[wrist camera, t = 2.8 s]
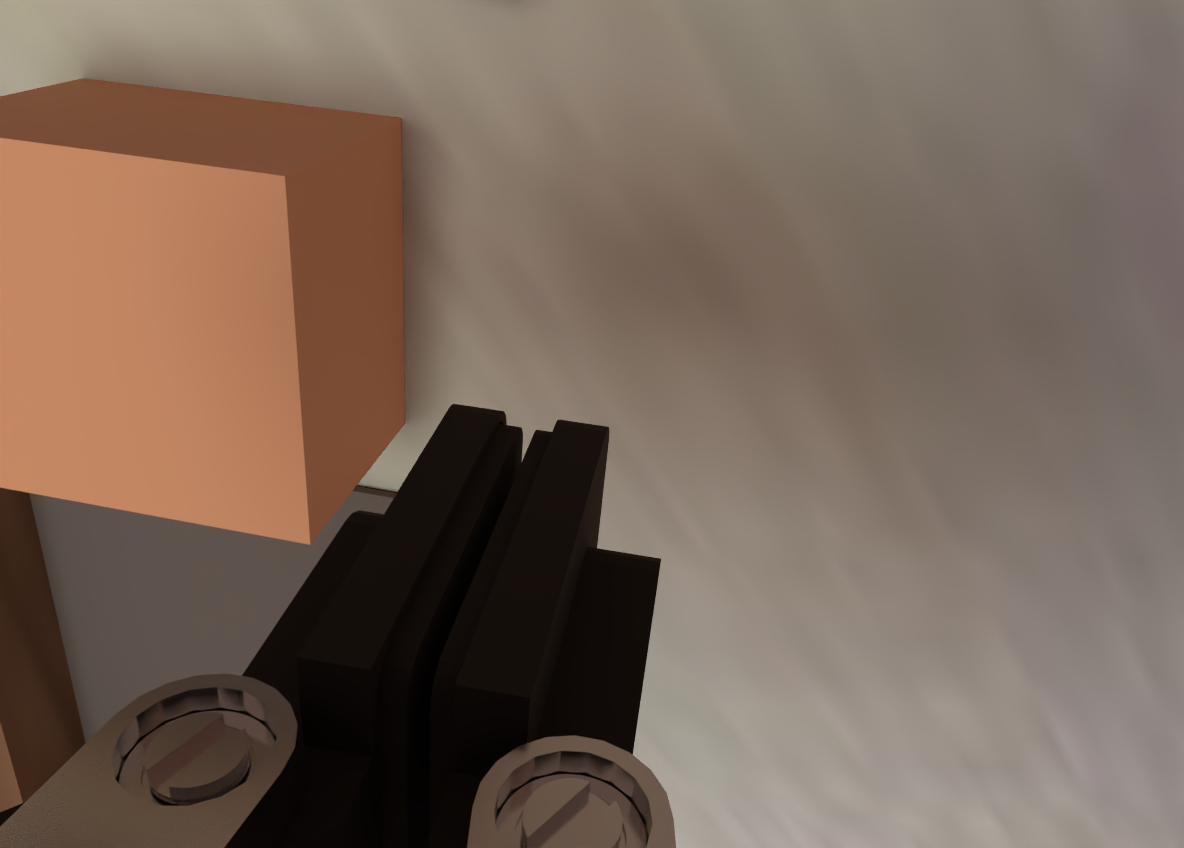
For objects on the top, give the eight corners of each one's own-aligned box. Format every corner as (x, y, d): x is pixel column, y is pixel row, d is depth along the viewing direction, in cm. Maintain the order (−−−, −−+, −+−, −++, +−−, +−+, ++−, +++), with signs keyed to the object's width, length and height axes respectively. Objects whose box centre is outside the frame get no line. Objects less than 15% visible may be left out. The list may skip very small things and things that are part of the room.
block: (404, 116, 17) (285, 176, 13) (407, 420, 20) (310, 544, 16) (88, 76, 17) (-116, 122, 14) (135, 375, 20) (-23, 483, 16)
